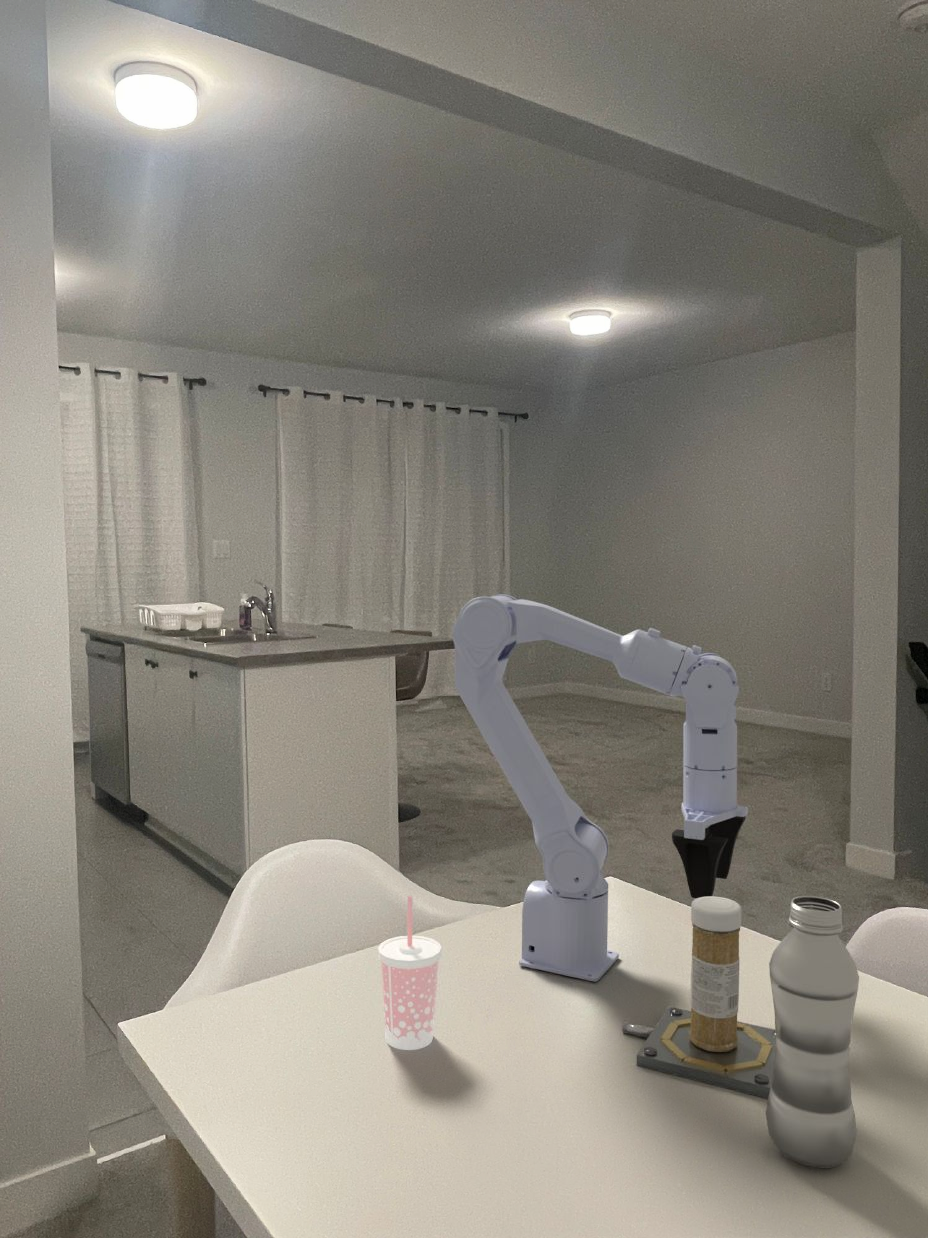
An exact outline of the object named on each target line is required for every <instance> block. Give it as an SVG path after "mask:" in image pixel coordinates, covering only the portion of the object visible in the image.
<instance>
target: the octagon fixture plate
mask: <svg viewBox="0 0 928 1238" xmlns="http://www.w3.org/2000/svg"><path fill="white" fill-rule="evenodd" d="M621 1030H622V1031H621V1032H622V1033H624V1034H628V1035H632V1036H635V1037H636V1036H637V1037H640V1038H645V1039H646V1040H645V1041H644V1043H643V1044H642V1046H641V1047H640V1049H639V1050H638V1052H637V1053H636V1066H638V1067H642V1068H646V1069H650V1070H653V1071H656V1072H662V1073H665V1074H670V1075H673V1076H676V1077H681V1078H685V1079H689V1080H693V1081H697V1082H701V1083H705V1084H709V1085H713V1086H715V1087H716V1086H717V1087H721V1088H725V1089H728V1090H731V1091H732V1090H733V1091H736V1092H740V1093H744V1094H748V1095H752V1096H756V1097H759V1098H763V1099H766V1100H768V1096H769V1092H770V1088H771V1085H772V1078H773V1069H774V1060H775V1050H776V1038H775V1035H776V1031H775V1028H770V1027H765V1026H760V1025H755V1024H751V1023H747V1022H741V1021H738V1020H737V1037H738V1044H737V1046H736V1047H735V1048H734V1049H732V1050H730V1051H727V1052H712V1051H707V1050H704V1049H702V1048H700V1047H698V1046H696V1045H695V1044H694V1043H692V1041H691V1040H690V1038H689V1032H690V1030H691V1010H688V1009H683V1008H679V1007H674V1006H670V1005H669V1006H668V1007H667V1008H666V1010H665V1012H664V1013H663V1015H661V1018H660V1019H659V1020H658V1022H657V1024H656V1025H655V1027H653V1028H652V1027H649V1026H645V1025H640V1024H636V1023H632V1022H627V1021H624V1022H623V1023H622V1029H621Z"/></svg>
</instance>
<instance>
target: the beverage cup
mask: <svg viewBox="0 0 928 1238" xmlns="http://www.w3.org/2000/svg"><path fill="white" fill-rule="evenodd" d="M406 918H407V919H406V920H407V923H406V924H407V927H406V929H407V935H401V936H399V935H398V936H395V937H392V938H388V939H386V940H384V941H383V942H381V943H380V944H379V946H378V947H377V952H378V959H379V961H380V963H381V964H380V968H381V983H382V984H381V985H382V999H383V1000H382V1001H383V1015H384V1016H383V1017H384V1034H385V1041H386V1044H388V1045H389V1046H390V1047H392V1048H395V1049H398V1050H405V1051H414V1050H420V1049H423V1048H425V1047H427V1046H428V1045H430V1044H431V1043H432V1041H433V1038H434V1033H435V1032H434V1031H435V1030H434V1029H435V1015H436V1004H437V1003H436V1001H437V999H436V998H437V988H438V986H437V984H438V970H439V961H440V959H441V957H442V953H441V952H442V949H443V948H442V945H441V944H440V942H439V941H437V940H435V939H434V938H431V937H427V936H422V935H413V896H412V895H408V896H407V916H406Z"/></svg>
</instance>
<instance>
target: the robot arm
mask: <svg viewBox="0 0 928 1238" xmlns="http://www.w3.org/2000/svg"><path fill="white" fill-rule="evenodd" d="M660 635H661V631H660V630H657V629H655V628H652V627H650V628H649V629H648V630H647V631H645V630H642V629H635V630H633V631H631V632H629V633H627V634H625V635H622V634H619V633H616V632H614V631H612V630H610V629H607V628H605V627H602V626H600V625H598V624H595V623H592V622H590V621H588V620H585V619H583V618H580V617H578V616H575V615H573V614H570V613H568V612H565V611H563V610H560V609H557V608H556V607H553V606H550V605H547V604H544V603H540V602H536V601H533V600H529V599H523V598H522V599H517V598H515V597H514V596H512V595H509V594H504V593H503V594H501V593H500V594H494V595H491V596H478V597H475V598H472V599H471V600H468V601H467V602H466V603H465V604H464V606H462V608H461V610H460V612H459V613H458V617H457V620H455V624H454V627H453V629H452V631H451V637H452V641H453V645H454V687H455V688H456V691H457V694H458V695H459V697H460V699H461V700H462V702H463V704H464V705H465V707H466V709H467V711H468V713H469V715H470V716H471V718H472V720H473V721H474V723H475V726H477V729H478V730H479V732H480V734H481V736H482V737H483V739H484V740H485V742H486V743H487V746H488V748H489V749H490V751H491V753H492V754H493V756H494V758H495V759H496V762H497V763H498V764H499V767H500V768H501V770H502V772H503V774H504V776H505V777H506V779H507V781H508V782H509V784H510V786H511V788H512V790H513V792H514V793H515V795H516V796H517V798H518V800H519V801H520V803H521V805H522V807H523V809H524V810H525V812H526V814H527V816H528V818H529V820H530V821H531V824H532V829H533V836H534V841H535V846H536V847H537V849H538V851H539V853H540V855H541V858H542V866H543V867H542V868H543V869H542V870H543V873H544V877H545V878H546V880H534V881H532V882H531V883H530V884H529V886H528V887H527V889H526V891H525V895H524V898H523V903H522V913H521V914H522V915H521V917H522V918H521V959H520V960H519V962H518V965H519V966H522V967H527V968H530V969H535V970H540V971H543V972H548V973H553V974H556V975H557V974H558V975H563V976H567V977H572V978H576V979H581V980H585V981H589V982H598V981H599V980H600V979H601V978H602V977H603V975H605V973H606V972H607V971H608V970H609V969H610V968H611V966H612V965H614V963H615V962H616V961H617V960H618V958H619V955H620V954H619V952H616V951H613V950H612V951H611V950H608V928H609V926H608V925H609V921H608V920H609V919H608V918H609V917H608V915H609V883H608V881H607V880H606V878H605V876H604V875H603V872H602V867H603V866H604V864H605V863H606V861H607V859H608V856H609V854H610V852H609V851H610V844H609V839H608V836H607V835H606V833H605V831H603V829H602V828H601V827H600V826H599V825H597V824H595V823H594V822H592V821H591V820H590V819H589V818H588V817H587V816H586V814H585V812H584V810H583V809H582V807H581V806H579V805H578V804H577V803H576V802H575V801H574V800H572V799H571V798H570V796H569V795H568V793H567V792H566V789H564V787H563V785H562V783H561V782H560V780H559V778H558V777H557V774H556V773H555V771H554V769H553V768H552V766H551V764H550V762H549V760H548V759H547V757H546V756H545V754H544V752H543V750H542V749H541V747H540V745H539V743H538V742H537V739H536V737H534V735H533V733H532V731H531V729H530V728H529V725H527V723H526V721H525V719H524V717H523V715H522V714H521V711H519V709H518V707H517V705H516V704H515V702H514V700H513V698H512V696H511V694H510V693H509V692H508V690H507V688H506V686H505V685H504V682H503V677H504V675H505V672H506V668H507V665H508V663H509V660H510V655H511V654H512V652H513V651H514V649H515V648H516V647H517V645H518V644H524V643H529V642H530V643H531V642H537V641H543V640H545V641H550V642H553V643H556V644H558V645H561V646H565V647H567V648H571V649H573V650H577V651H580V652H583V653H586V654H589V655H592V656H594V657H598V658H600V659H603V660H606V661H609V662H611V663H613V665H614V667H615V669H616V671H617V674H618V675H619V677H620V678H622V679H625V680H626V681H627V680H628V681H630V682H633V683H636V684H637V685H640V686H644V687H645V688H648V689H651V690H654V691H657V692H659V693H662V694H665V695H667V696H670V697H672V698H675V697H678V696H680V697H683V699H684V701H685V721H684V723H683V736H682V737H683V741H682V742H683V748H682V750H683V753H682V755H683V756H682V758H683V760H682V761H683V765H682V766H683V767H682V768H683V775H682V776H683V777H682V779H683V783H682V785H683V789H682V790H683V791H682V793H683V796H682V797H683V802H681V813H682V815H683V819H684V820H683V829H679V828H676V829H675V830H673V832H672V833H671V840H672V843H673V845H674V846H675V848H676V851H677V853H678V854H679V856H680V858H681V862H682V865H683V868H684V873H685V876H686V877H685V878H686V882H687V886H688V890H689V891H688V892H689V894H690V897H691V898H692V899H697V898H700V897H707V896H714V891H715V888H716V887H715V886H716V880H717V879H722V880H727V878H728V875H729V874H730V868H731V864H732V859H733V853H734V848H735V846H736V845H735V844H736V842H737V839H738V836H739V833H740V831H741V828H742V826H743V825H744V823H745V821H746V816H747V815H748V814H749V807H748V806H743V805H739V804H738V789H737V788H738V726H737V725H738V724H737V723H736V722H735V720H736V718H737V708H736V706H735V702H736V700H737V698H738V695H739V691H740V686H738V675H737V673H736V670H735V668H734V667H733V666H732V665H731V663H730V662H729V661H727V660H726V659H725V658H724V657H723V658H722V656H721V657H720V656H719V655H718V654H717V653H714V652H705V653H702V651H703V648H702V647H700V646H697V645H695V644H694V645H692V648H691V647H688V646H686V645H682V644H680V643H677V642H675V641H672V640H669V639H666V638H663V637H661V636H660Z"/></svg>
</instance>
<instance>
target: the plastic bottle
mask: <svg viewBox="0 0 928 1238" xmlns="http://www.w3.org/2000/svg"><path fill="white" fill-rule="evenodd" d="M842 916H843V907H842V905H841V904H840V903H839V902H837V901H835V900H834V899H830V898H826V897H821V896H815V895H799V896H795V897H793V898H792V899H791V902H790V914H789V916H788V925H789V926H790V928H791V931H789V933H788V934H787V935H786V936H785V937H784V938H783V939H782V940H781V941H780V942H779V944H778V945H776V947H775V949H774V950H773V952H772V954H771V957H770V960H769V963H768V965H769V967H768V969H769V978H770V986H771V994H772V1001H773V1009H774V1030H775V1031H776V1035H775V1038H776V1050H775V1060H774V1069H773V1078H772V1085H771V1088H770V1092H769V1096H768V1099H767V1103H766V1109H765V1118H766V1123H767V1124H766V1125H767V1132H768V1135H769V1137H770V1140H771V1141H772V1143H773V1145H774V1146H775V1147H776V1149H777V1150H778V1151H779V1152H780V1153H781V1154H782V1155H783V1156H785V1157H787V1159H790V1160H791V1161H794V1162H796V1163H798V1164H800V1165H804V1166H807V1167H810V1168H811V1167H813V1168H820V1169H827V1168H830V1169H831V1168H835V1167H838V1166H841V1165H842V1164H844V1162H846V1160H848V1159H849V1158H850V1156H851V1155H852V1154H853V1151H854V1148H855V1144H856V1139H857V1134H858V1133H857V1132H858V1129H857V1121H856V1113H855V1108H854V1104H853V1100H852V1087H851V1086H852V1085H851V1073H850V1049H851V1047H850V1045H851V1038H852V1037H851V1036H852V1023H853V1018H854V1012H855V1009H856V1008H855V1007H856V1002H857V998H858V997H857V996H858V990H859V983H860V976H859V972H858V968H857V964H856V963H855V960H854V958H853V957H852V955H851V954H850V952H849V950H848V948H847V947H846V946H845V944H844V943H843V941H842V940H841V939H840V937H839V934H841V933H843V930H844V928H843V927H844V926H843V925H844V924H843V922H842V919H843V917H842Z"/></svg>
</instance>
